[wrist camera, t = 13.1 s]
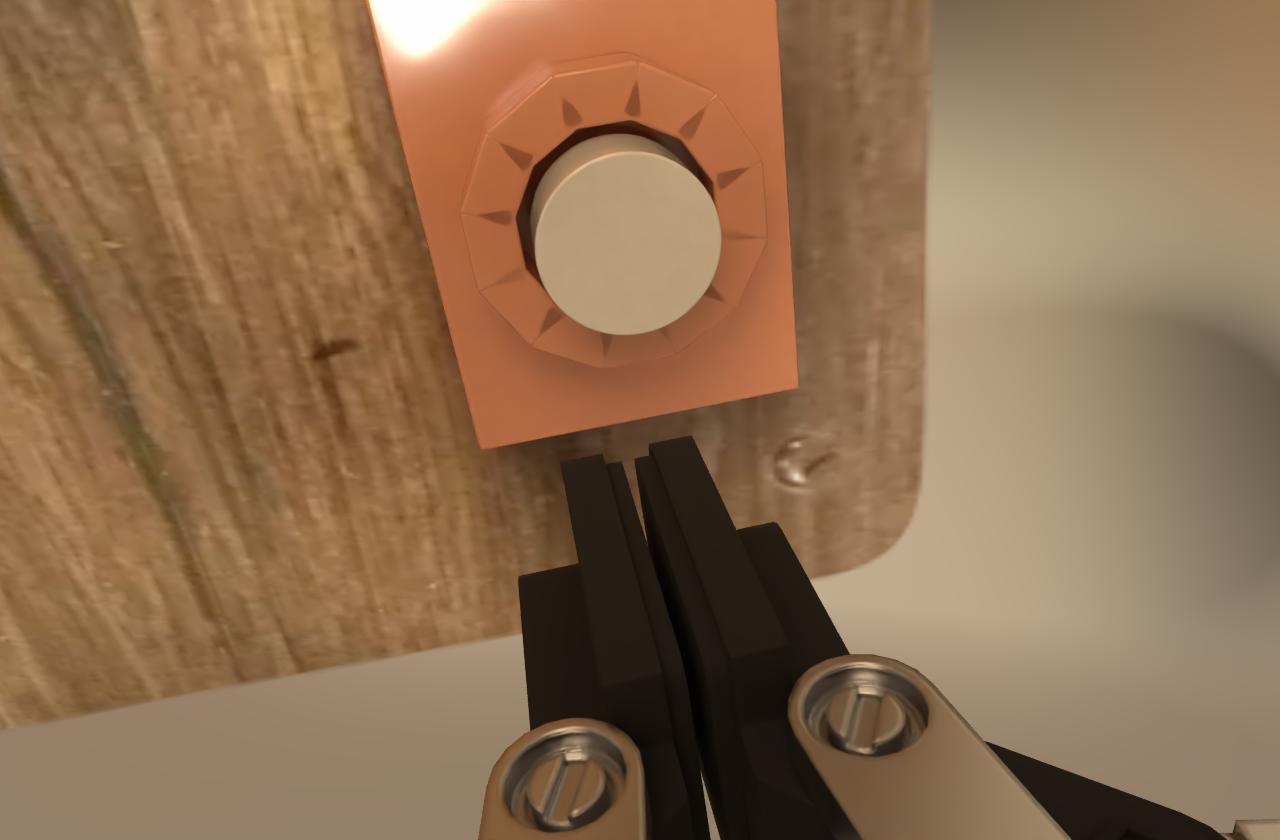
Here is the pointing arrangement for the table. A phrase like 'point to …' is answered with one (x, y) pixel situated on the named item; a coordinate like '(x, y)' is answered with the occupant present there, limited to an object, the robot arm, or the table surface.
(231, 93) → the table surface
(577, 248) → the button
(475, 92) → the orange button base
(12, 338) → the table surface
